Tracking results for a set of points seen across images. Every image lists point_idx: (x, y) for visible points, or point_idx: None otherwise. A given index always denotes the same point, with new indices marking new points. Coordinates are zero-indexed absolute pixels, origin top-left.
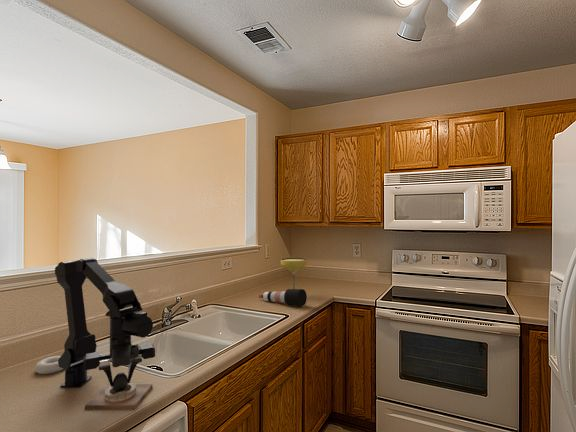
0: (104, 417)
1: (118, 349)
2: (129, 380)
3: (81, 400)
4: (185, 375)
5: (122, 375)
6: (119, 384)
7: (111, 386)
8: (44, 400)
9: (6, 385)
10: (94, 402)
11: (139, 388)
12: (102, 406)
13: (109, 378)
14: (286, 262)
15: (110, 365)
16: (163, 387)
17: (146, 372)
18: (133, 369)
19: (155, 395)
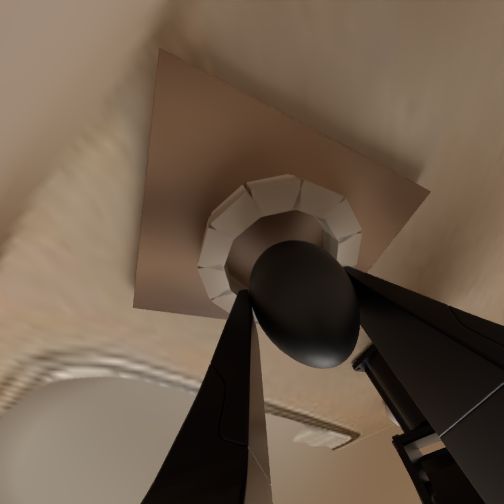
0: (356, 18)
1: None
2: (240, 301)
3: (403, 260)
4: (6, 360)
5: (310, 331)
6: (310, 256)
7: (347, 266)
8: (480, 285)
9: None
10: (389, 206)
11: (190, 281)
12: (360, 156)
13: (421, 300)
14: None
15: (460, 454)
16: (74, 286)
17: (200, 380)
18: (203, 404)
19: (82, 215)
